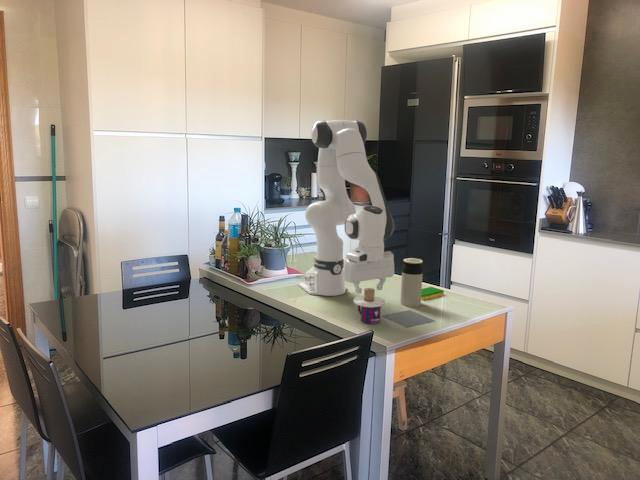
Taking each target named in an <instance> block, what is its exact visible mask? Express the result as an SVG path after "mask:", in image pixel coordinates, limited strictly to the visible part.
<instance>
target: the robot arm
mask: <svg viewBox="0 0 640 480" xmlns="http://www.w3.org/2000/svg"><path fill="white" fill-rule="evenodd" d="M310 135H311V136H310V137H311V141H312V144H313V145H314V146H315V147H317V148H318V155H317V185H318V187H319V188H320V189H321V190H322V192H323V193H324V196H325V200H318V201H316V202H313V203H311V204H309V205H308V206H307V207H306V209H305V215H304V216H305V220H306V223H307V224H308V226H310V227H311V228H312V230H313V232H314V235H315V239H316V258H313V262H314V263H313V266H312V267H311V268H310V269H308V270H307V271H306V272H305V274H304V279H303V281H301V282H298V286H299V287H300V288H301V289H302V290H304V291H305V292H306V293H308V294H309V295H319V296H328V297H330V296H333V297H334V296H341V295H344V294H345V293H346V290H348V286H347V285H346V282H348V283H352V284H353V285H352V286H354V288H355V294H359V295H360V294H362V291H363V289H362V287H360V283H361V282H364V281H372V280H379V281H378V283H377V284H375V285H376V287H375V288H376V290H378V291H382V290H383V288H384V287H383V286H384V284H385V282H386V278H392V277H393V276H394V275H395V261H394V260H395V259H394V253H393V252H392V251H389V250H387V251H385V243H384V242H385V241H386V240H388V238H390V237H391V236H392V234H393V233H394V231H395V221H394V218H393V216H392V214H391V212H390V210H389V207H388V203H387V199H386V197H385V192H384V189H383V187H382V184H381V181H380V178H379V175H378V174H377V172H376V171H375V170H374V169H372V167H371V166H370V163H369V162H368V159H367V154H366V153H367V152H366V148H365V142H366V141H367V137H368V136H367V135H368V131H367V127H366V125H365V124H364V122H362V121H359V120H349V119H335V120H334V119H330V120H323V119H322V120H318V121H316V122H314V124H313V125H312V128H311V133H310ZM346 181H347V182H348V183H350V184H354V185H356V186H359V187H361V188H363V189H364V190H365V191H366V192H367V193H368V195H369V199H370V202H371V204H372V205H365V206H363V207H362V208H361V210H360V211H358V212H357V211H356V210H357V209H356V207H355V204H354V203H353V201H351V200H350V197H349V195H348V192H347V187H346ZM343 225H344V233H345V235H346V236H347V237H348V238H349V239H351V240H357V241H359V243H358V247H355V248H354V249H352V250H350V251H348V252H347V253H346V254H345V258H346V261H345V262H344V258H343V257H344V240H343V239H342V238H341V237H340V236H339V233H338V231H337V230H338V229H337V226H343ZM343 268H344V269H343Z"/></svg>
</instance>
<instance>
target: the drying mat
mask: <svg viewBox="0 0 640 480" xmlns="http://www.w3.org/2000/svg"><path fill="white" fill-rule="evenodd" d="M381 317H383V318H384V319H388V320H390V321H392V322H394V323H395V324H398V325H400V326H403V327H405V328H407V329H408V328H411V327H416V326H420V325H425V324H430V323H434V322H436V320H435V319H433V318H430V317H428V316H425V315H422V314H421V313H418V312H415V311H413V310H411V309H409V310H407V309H406V310H402V311H397V312H392V313H387V314H383V315H381Z"/></svg>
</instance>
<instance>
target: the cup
mask: <svg viewBox="0 0 640 480" xmlns="http://www.w3.org/2000/svg"><path fill="white" fill-rule="evenodd" d="M381 307H382V306H380V307H363V306H359V305H357V311H358V313H359V315H361V316H360V322H361V323H362V324H366V325H377V324H380V322H381Z"/></svg>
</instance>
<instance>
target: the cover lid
mask: <svg viewBox="0 0 640 480" xmlns="http://www.w3.org/2000/svg"><path fill="white" fill-rule="evenodd" d="M363 291H364V294H363V295H360V296H355V297H354V298H353V304H355V305H357V306H358V305H359V306H360V307H362V306H363V307H380V306H381V307H382V306H384V305H385V303H386V301H385V299H383V298H381V297H378V296H375V288H371V287H366V288H364V290H363Z"/></svg>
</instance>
